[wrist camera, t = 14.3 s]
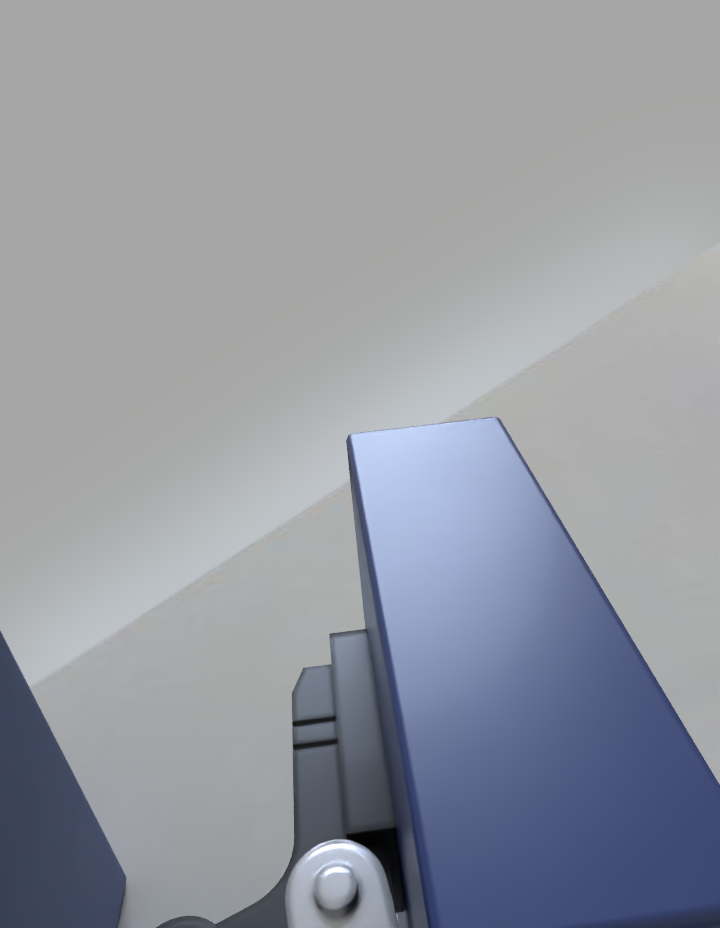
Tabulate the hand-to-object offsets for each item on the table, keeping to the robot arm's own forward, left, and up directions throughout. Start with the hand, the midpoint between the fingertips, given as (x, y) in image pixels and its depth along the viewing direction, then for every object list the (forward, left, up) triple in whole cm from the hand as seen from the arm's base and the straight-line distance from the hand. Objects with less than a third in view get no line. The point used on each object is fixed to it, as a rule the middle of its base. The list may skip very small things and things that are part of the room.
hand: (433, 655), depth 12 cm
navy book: (-3, -1, -6) cm, 7 cm away
